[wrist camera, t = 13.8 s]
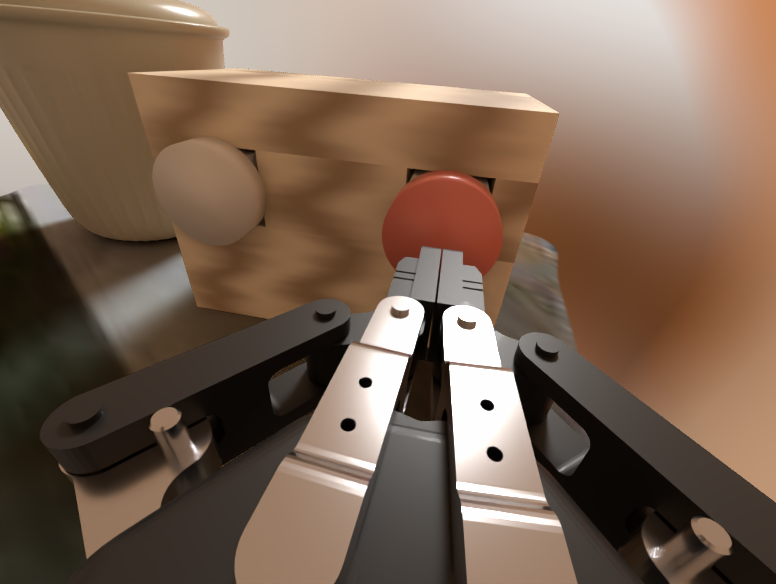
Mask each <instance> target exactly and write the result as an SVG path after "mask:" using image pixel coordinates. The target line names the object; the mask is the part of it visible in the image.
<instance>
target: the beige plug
mask: <svg viewBox="0 0 776 584" xmlns="http://www.w3.org/2000/svg"><path fill="white" fill-rule="evenodd" d="M152 180H153V186H154V190H155V194H156V196H157V199H158V201H159V203H160V205H161V207H162V208H163V210H164V212H165V213H166V214H167V216H168V217H169V218H170V219H171V221H172V222H173V223H174V224H175V225H176V226H177V227H178V228H179V229H181V230H182V231H183V232H184V233H186V234H187V235H189V236H190V237H192V238H194V239H196V240H198V241H200V242H203V243H206V244H210V245H217V246H223V245H229V244H232V243H235V242H236V241H238V240H239V239H241V238H242V237H243V236H245V235H246V234H247V233H248V232H250V231H251V230H252V229H253V228H255V227H256V226H257V225H258V224H259V223H260V221H262V220H263V219H264V218H265V217H264V213H265V209H266V193H265V188H264V185H263V182H262V179H261V177H260V175H259V173H258V167H257V160H256V153H255V150H250V149H241V148H236V147H235V146H233V145H231V144H230V143H228V142H226V141H224V140H221V139H218V138H214V137H205V136H203V137H197V138H193V139H190V140H186V141H183V142H179V143H176V144H172V145H170V146H168V147H166V148H164V149H163V150H162V151H161V152H160V153H159V155H158V156H157V158H156V160H155V162H154V165H153V171H152Z"/></svg>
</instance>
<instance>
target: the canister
mask: <svg viewBox="0 0 776 584" xmlns="http://www.w3.org/2000/svg"><path fill="white" fill-rule="evenodd" d="M228 36H229V30H228V29H227V28H224V27H219V26H217V23H216V22H215V20H214V19H213V18H212V16H211V15H209V14H208V13H207V12H206V11H204V10H202V9H201V8H199V7H196V6H194V5H191V4H188V3H185V2H182V1H178V0H0V107H1V109H2V111H3V112H4V114H5V115H6V117H7V119H8V120H9V122H10V124H11V125H12V127H13V128H14V130H15V132H16V133H17V135H18V136H19V138H20V139H21V141H22V143H23V144H24V146H25V147H26V149H27V151H28V152H29V154H30V155H31V157H32V158H33V160H34V161H35V163H36V165H37V166H38V168H39V169H40V170H41V172H42V174H43V175H44V177H45V178H46V180H47V181H48V183H49V184H50V186H51V187H52V189H53V190H54V192H55V193H56V195H57V196H58V198H59V199H60V201H61V202H62V204H63V205H64V207H65V208H66V209H67V211H68V212H69V213H70V214H71V216H72V217H73V218H74V219H75V220H76V221H77V222H78V223H79V224H81V225H82V226H83V227H85V228H86V229H88V230H89V231H91V232H93V233H95V234H97V235H100V236H102V237H105V238H110V239H114V240H122V241H151V240H161V239H170V238H174V237H176V234H175V231H174V227H173V224H172V221H171V219H170V218H169V217H168V216H167V214H166V213H165V212H164V210H163V208H162V207H161V205H160V203H159V201H158V199H157V196H156V194H155V190H154V186H153V180H152V171H153V165H154V160H153V157H152V153H151V150H150V147H149V143H148V140H147V136H146V133H145V130H144V126H143V123H142V120H141V116H140V113H139V110H138V106H137V103H136V100H135V96H134V93H133V89H132V86H131V83H130V79H129V76H128V73H133V72H159V71H185V70H211V69H225V66H224V54H223V40H224V39H225V38H227V37H228Z"/></svg>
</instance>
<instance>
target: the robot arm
mask: <svg viewBox="0 0 776 584" xmlns="http://www.w3.org/2000/svg"><path fill="white" fill-rule="evenodd" d="M440 256H441V248H434V247H427V246H422V248H421V252H420V257H419V258H412V257H405V258H404V259H402V260H401V261H400V262H398V265H397V268H396V272H395V274H394V278H393V280H392V283H391V286H390V289H389V292H388V295H387V298H385V299H383V300H382V301H381V302H380V303H379V304H378V306H377V308H376V310H374V311H371V312H367V313H354V314H351V313H350V308H349V307H348V306H347V305H346V304H345V303H343V302H341V301H339V300H335V299H320V300H316V301H313V302H310V303H308V304H305V305H303V306H300V307H298V308H295V309H293V310H290V311H288V312H285V313H283V314H280V315H278V316H275V317H273V318H270V319H268V320H265V321H263V322H260V323H258V324H255V325H253V326H250V327H248V328H245V329H243V330H240V331H238V332H235V333H233V334H230V335H228V336H225V337H223V338H220V339H218V340H215V341H213V342H210V343H208V344H205V345H203V346H200V347H198V348H195V349H193V350H190V351H188V352H185V353H183V354H180V355H178V356H175V357H173V358H170V359H168V360H165V361H163V362H160V363H158V364H155V365H153V366H150V367H148V368H145V369H143V370H140V371H138V372H135V373H133V374H130V375H128V376H125V377H123V378H120V379H118V380H115V381H113V382H110V383H108V384H105V385H103V386H100V387H98V388H95V389H93V390H90V391H88V392H85V393H83V394H80V395H78V396H76V397H74V398H72V399H70V400H68V401H67V402H65V403H63V404H62V405H61V406H59V407H58V408H57V409H55V410H54V411H53V412H52V413H51V414H50V415H49V416H48V418H47V419H46V420H45V422H44V423H43V425H42V427H41V429H40V440H41V442H42V443H43V444H44V446H45V447H46V448H47V449H48V451H49V452H50V453H51V454H52V455H53V457H54V458H55V459H56V460H57V461H58V463H59V467H60V469H61V471H62V472H63V473H64V474H65V475H66V477H67V478H68V479H69V480H70V481H71V483H72V484H73V485H74V486H75V492H76V498H77V504H78V510H79V516H80V522H81V528H82V534H83V540H84V546H85V551H86V557H87V560H86V561H85V562H84V563H83V564H82V565H81V566H80V567H79V568H78V569H76V570H75V572H74V573H73V574H72V575H71V576H70V577H69V579H68V580H67V581H66V582H65V583H64V584H776V503H775V502H774V501H773V500H772V499H770V498H769V497H768V496H766V495H765V494H764V493H762V492H761V491H759V490H758V489H757V488H755V487H754V486H753V485H752V484H750V483H749V482H748V481H746V480H745V479H744V478H742V477H741V476H740V475H738V474H737V473H736V472H734V471H733V470H731V468H729V467H728V466H727V465H725V464H724V463H722V462H721V461H720V460H719V459H717V458H716V457H714V456H713V455H712V454H711V453H709V452H708V451H707V450H705V449H704V448H703V447H701V446H700V445H699V444H697V443H696V442H695V441H693V440H692V439H691V438H689V437H688V436H687V435H686V434H684V433H683V432H681V431H680V430H679V429H678V428H676V427H675V426H674V425H672V424H671V423H670V422H668V421H667V420H666V419H664V418H663V417H662V416H660V415H659V414H658V413H656V412H655V411H654V410H652V409H651V408H650V407H648V406H647V405H646V404H644V403H643V402H642V401H640V400H639V399H638V398H636V397H635V396H634V395H633V394H631V393H630V392H629V391H627V390H626V389H625V388H623V387H622V386H621V385H619V384H618V383H617V382H615V381H614V380H613V379H611V378H610V377H609V376H607V375H606V374H605V373H603V372H602V371H601V370H599V369H598V368H597V367H595V366H594V365H593V364H591V363H590V362H589V361H588V360H586V359H585V358H584V357H582V356H581V355H580V354H578V353H577V352H576V351H574V350H573V349H572V348H570V347H569V346H568V345H566V344H565V343H564V342H562V341H561V340H559V339H557V338H555V337H553V336H551V335H548V334H544V333H528V334H525V335H523V336H522V337H521V339H520V341H517V340H515V339H512V338H509V337H507V336H504V335H502V334H500V333H499V332H497V331H496V330H494V329H493V328H492V323H491V320H490V319H489V317H488V316H487V315H486V314H485V308H484V296H483V284H482V274H481V273H480V272H479V270H478V269H477V268H476V267H475V266H469V265H463V251H456V250H449V249H443V251H442V257H441V263H440ZM439 264H440V269H439ZM438 272H439V275H438ZM437 280H438V281H437ZM431 322H432V325H431ZM430 328H431V333H430ZM429 334H430V341H429V349H428V357H427V361H430V362H434V364H433V371H432V377H431V392H430V421H419V420H416V419H413V418H411V417H409V416H407V415H405V411H406V408H407V404H408V400H409V396H410V392H411V389H412V385H413V381H414V375H415V372H416V371H417V369H418V364H419V360H424V361H425V357H426V351H427V345H428V339H429ZM304 357H306V362H305V363H303V364H301V365H299V366H297V367H295V368H293V369H291V370H289V371H287V372H285V373H283V374H281V375H279V376H277V377H275V378H273V379H272V380H270V378H271V377H272V376H273V375H274V374H275V373H276V372H277V371H279V370H280V369H282V368H284V367H286V366H288V365H290V364H292V363H294V362H296V361H298V360H300V359H302V358H304ZM269 380H270V381H269ZM553 402H555V403H556V404H557V405H558V406H559V407H561V408H562V409H563V410H564V411H565V412H566V413H567V414H568V415H569V416H570V417H571V418H572V419H574V420H575V421H576V422H577V423H578V424H579V425H580V426H581V427H582V428H583V429H584V430H585V431H586V433H587V435H588V437H589V439H590V445H589V444H588V443H587V442H585V441H584V440H583V439H582V438H581V437H580V436H579V435H578V434H577V433H576V432H575V431H574V430H573V429H572V428H571V427H570V426H569V425H568V424H567V423H565V422H564V421H563V420H562V419H561V418H560V417H559V416H558V415H557V414H556V413H555V412H554V411H553V410H552V409H551V406H552V404H553ZM314 409H316V410H315V412H314V413H312V414H309V415H306V414H308V413H309V412H311V411H312V410H314ZM304 415H306V416H304ZM274 433H275V434H274ZM271 435H272V436H271ZM266 438H267V439H266ZM263 440H264V441H263ZM261 441H262V442H261ZM260 442H261V443H260ZM258 443H259V444H258ZM256 444H258V445H256ZM255 445H256V446H255ZM253 446H255V447H253ZM251 447H253V448H251ZM250 448H251V449H250ZM248 449H250V450H248ZM246 450H248V451H247V452H245V451H246ZM243 452H245V453H244V454H242V455H241V456H239V457H238V458H236V459H234V460H233V461H231V462H230V463H228V464H227V465H225V466H224V467H222V468H221V466H222V465H223V464H225V463H227V462H228V461H230V460H232V459H233V458H235V457H237V456H238V455H240V454H241V453H243ZM220 468H221V469H220Z"/></svg>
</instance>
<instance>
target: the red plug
mask: <svg viewBox="0 0 776 584" xmlns="http://www.w3.org/2000/svg"><path fill="white" fill-rule="evenodd" d="M502 242H503V230H502V224H501V219H500V214H499V210H498V206H497V204H496V201H495V199H494V197H493V196H492V194H491V193H490V191H489V186H488V180H487V177H480V176H471V175H467V174H465V173H462V172H458V171H453V170H437V171H428V170H420V169H415V171H414V173H413V176H412V178H411V180H410V182H408V183H407V184H406V185H405V186H404V187H403V188H402V189H401V190H400V191H399V193H398V194H397V196H396V197H395V199H394V201H393V203H392V204H391V206H390V208H389V210H388V212H387V214H386V217H385V219H384V223H383V227H382V244H383V248H384V252H385V255H386V257H387V259H388V261H389V262H390V264H391V266H392V267H393V268H394V269H395V271H396V268H397V265H398V262H400V261H401V260H402V259H404V258H405V257H412V258H419V257H420V252H421V248H422V246H427V247H434V248H441V256H440V263H441V257H442V251H443V249H449V250H456V251H463V265H469V266H475V267H476V268H477V269H478V270H479V272H480V273H481V274H482V277H483V276H484V275H486V274H487V273H488V272H489V270H490V269H491V268H492V267H493V265H494V264H495V262H496V260H497V259H498V257H499V254H500V251H501V247H502ZM439 269H440V264H439ZM438 275H439V272H438ZM437 281H438V280H437Z"/></svg>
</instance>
